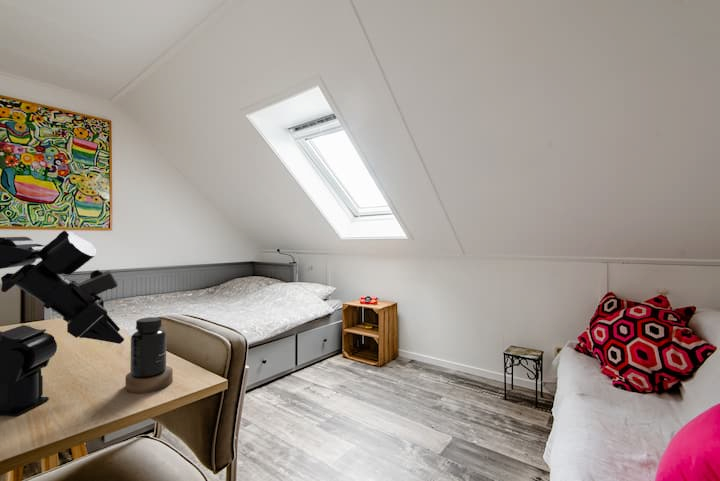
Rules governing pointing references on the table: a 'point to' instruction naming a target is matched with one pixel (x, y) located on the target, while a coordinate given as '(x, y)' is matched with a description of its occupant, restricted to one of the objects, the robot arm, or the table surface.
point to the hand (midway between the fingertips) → (120, 336)
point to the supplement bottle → (148, 349)
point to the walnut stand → (149, 382)
